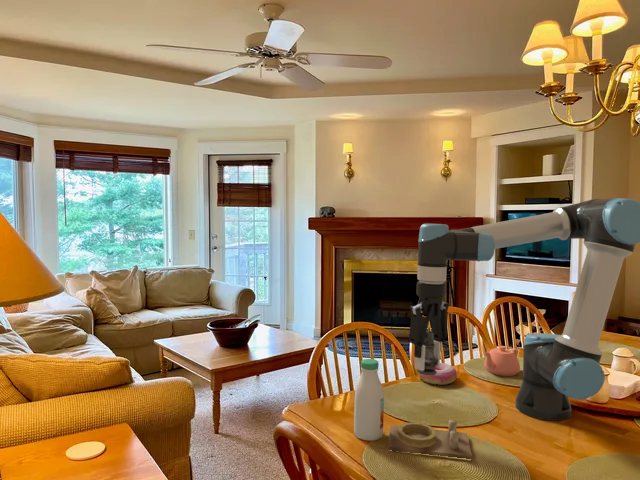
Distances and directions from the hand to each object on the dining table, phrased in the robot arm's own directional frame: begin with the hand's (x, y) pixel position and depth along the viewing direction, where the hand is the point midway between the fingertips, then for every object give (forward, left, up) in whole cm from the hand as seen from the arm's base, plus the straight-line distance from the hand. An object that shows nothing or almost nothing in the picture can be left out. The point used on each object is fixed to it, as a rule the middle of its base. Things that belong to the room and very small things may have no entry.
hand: (427, 366), depth 127 cm
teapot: (-28, -55, -18) cm, 64 cm away
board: (-1, +8, -18) cm, 19 cm away
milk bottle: (+15, +6, -18) cm, 24 cm away
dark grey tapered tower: (0, 0, -2) cm, 2 cm away
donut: (-4, -41, -18) cm, 45 cm away
